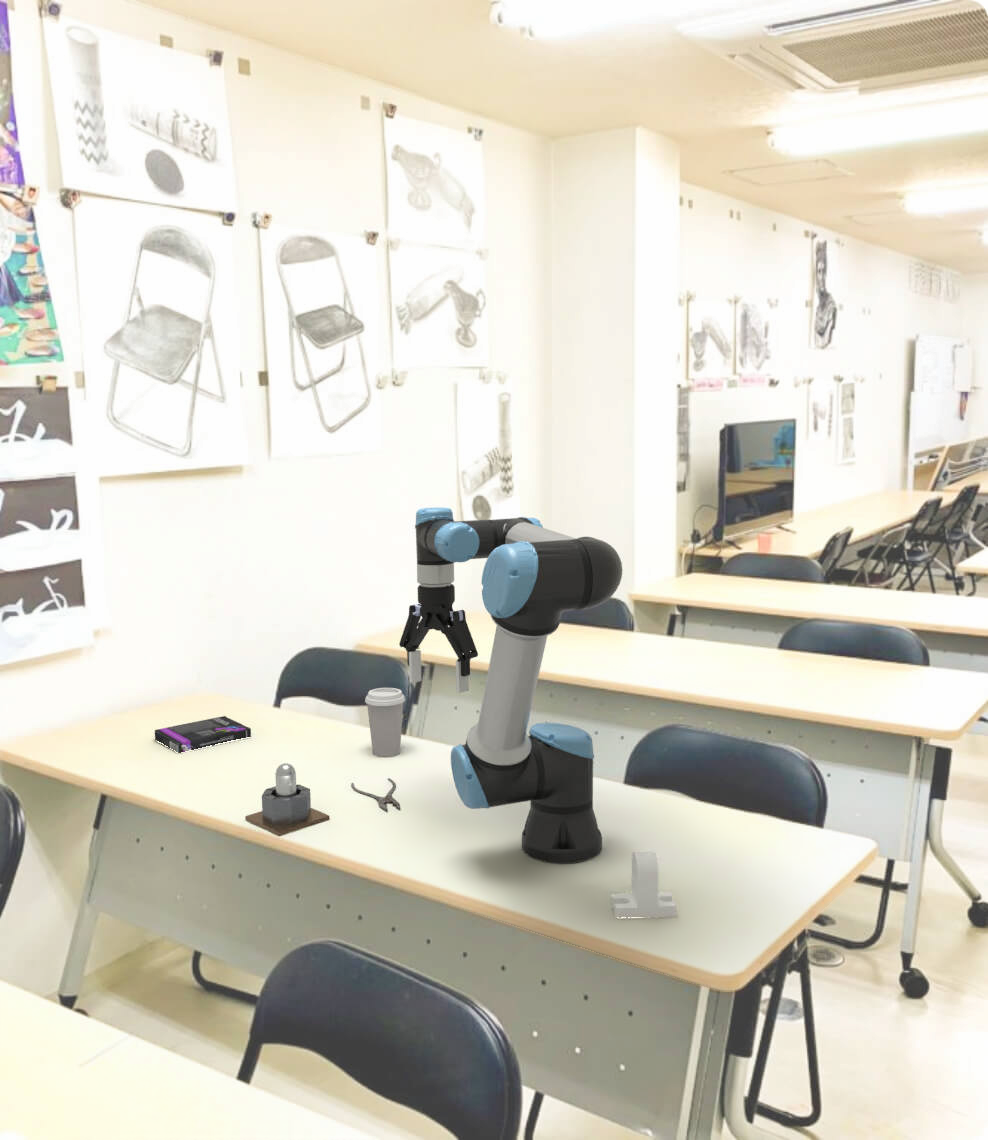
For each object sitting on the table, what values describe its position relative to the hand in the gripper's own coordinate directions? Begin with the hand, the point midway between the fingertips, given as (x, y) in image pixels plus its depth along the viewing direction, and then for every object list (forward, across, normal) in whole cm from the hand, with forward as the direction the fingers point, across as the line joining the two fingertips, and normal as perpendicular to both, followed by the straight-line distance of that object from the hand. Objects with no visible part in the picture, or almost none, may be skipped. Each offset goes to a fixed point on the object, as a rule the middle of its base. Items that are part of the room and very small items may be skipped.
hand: (438, 686), depth 228 cm
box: (+24, +78, +6) cm, 82 cm away
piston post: (+25, +18, +26) cm, 40 cm away
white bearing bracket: (+27, -59, +12) cm, 66 cm away
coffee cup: (+25, +34, -16) cm, 45 cm away
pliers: (+26, +14, +3) cm, 29 cm away
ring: (+24, +18, +26) cm, 40 cm away
